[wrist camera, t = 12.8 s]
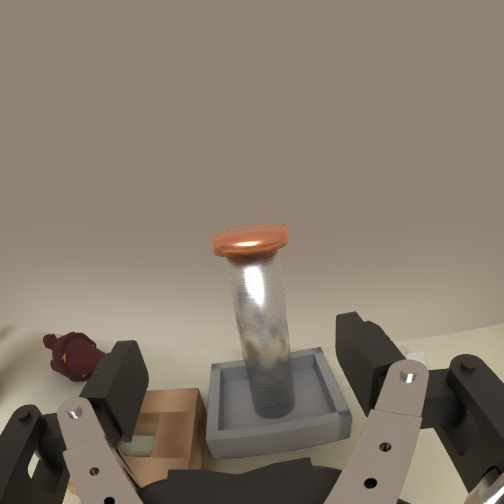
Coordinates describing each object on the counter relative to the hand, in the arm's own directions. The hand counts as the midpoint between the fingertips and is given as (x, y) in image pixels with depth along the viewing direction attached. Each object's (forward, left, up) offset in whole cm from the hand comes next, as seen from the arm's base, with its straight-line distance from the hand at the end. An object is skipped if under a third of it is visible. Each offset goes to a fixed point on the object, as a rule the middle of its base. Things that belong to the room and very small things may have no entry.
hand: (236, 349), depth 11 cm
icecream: (-24, +20, -16) cm, 35 cm away
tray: (+1, +12, -16) cm, 20 cm away
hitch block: (-12, +7, -16) cm, 21 cm away
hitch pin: (+1, +12, -15) cm, 19 cm away
